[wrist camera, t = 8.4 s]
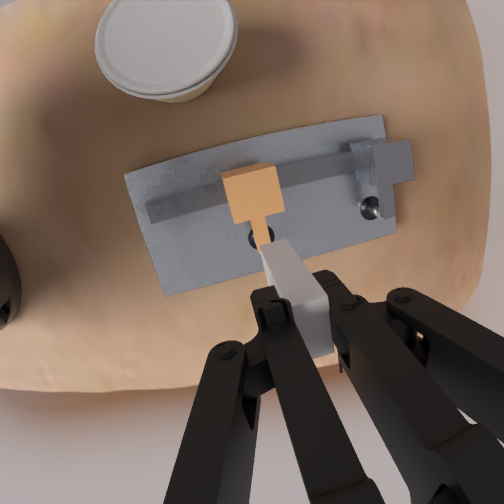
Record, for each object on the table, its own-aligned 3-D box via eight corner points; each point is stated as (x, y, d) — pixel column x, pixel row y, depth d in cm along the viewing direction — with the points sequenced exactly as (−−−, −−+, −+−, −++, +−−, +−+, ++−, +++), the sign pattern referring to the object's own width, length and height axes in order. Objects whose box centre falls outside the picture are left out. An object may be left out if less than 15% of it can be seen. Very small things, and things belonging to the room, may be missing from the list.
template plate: (167, 288, 34) (159, 328, 27) (128, 172, 30) (104, 184, 22) (388, 227, 36) (426, 250, 28) (372, 115, 31) (415, 114, 23)
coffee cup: (246, 65, 27) (270, 28, 16) (176, 131, 29) (159, 128, 18) (180, 8, 24) (170, -51, 13) (112, 72, 26) (64, 43, 15)
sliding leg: (240, 249, 31) (247, 272, 26) (219, 171, 29) (223, 178, 23) (280, 238, 32) (294, 259, 26) (262, 160, 29) (275, 165, 24)
